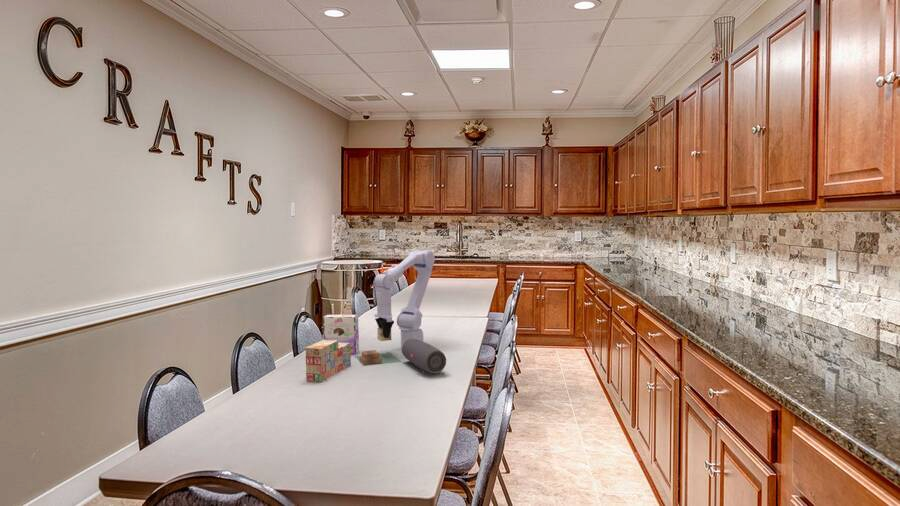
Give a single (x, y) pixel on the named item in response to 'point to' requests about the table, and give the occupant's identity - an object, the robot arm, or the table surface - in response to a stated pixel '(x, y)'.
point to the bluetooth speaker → (424, 355)
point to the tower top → (370, 354)
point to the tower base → (370, 361)
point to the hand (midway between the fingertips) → (384, 336)
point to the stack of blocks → (326, 359)
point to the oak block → (380, 335)
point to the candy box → (342, 330)
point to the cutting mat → (385, 358)
